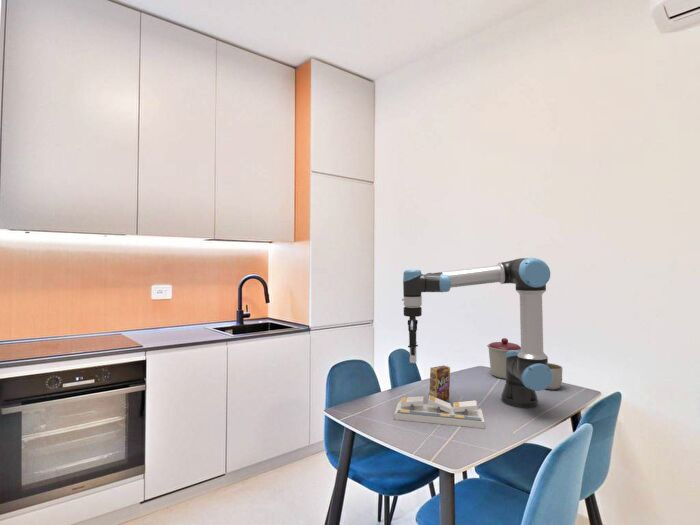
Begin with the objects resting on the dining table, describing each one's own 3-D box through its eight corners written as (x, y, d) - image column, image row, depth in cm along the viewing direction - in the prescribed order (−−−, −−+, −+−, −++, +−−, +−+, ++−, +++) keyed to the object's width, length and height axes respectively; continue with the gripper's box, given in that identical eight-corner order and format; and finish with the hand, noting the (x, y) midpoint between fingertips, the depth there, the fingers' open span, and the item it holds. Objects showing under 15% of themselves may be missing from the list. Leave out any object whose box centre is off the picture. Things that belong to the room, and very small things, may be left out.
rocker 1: (424, 400, 171) (423, 395, 171) (423, 406, 164) (422, 400, 165) (402, 401, 173) (402, 396, 173) (401, 407, 166) (400, 402, 167)
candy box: (435, 404, 181) (436, 369, 181) (428, 401, 184) (429, 367, 184) (450, 400, 186) (450, 366, 186) (442, 397, 189) (443, 364, 189)
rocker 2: (449, 407, 169) (450, 402, 169) (449, 413, 162) (451, 408, 162) (428, 399, 171) (429, 394, 171) (427, 404, 164) (429, 399, 164)
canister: (518, 383, 213) (518, 342, 213) (483, 377, 223) (483, 338, 223) (524, 375, 228) (525, 337, 228) (491, 370, 238) (492, 334, 238)
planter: (563, 386, 209) (563, 365, 209) (560, 393, 198) (561, 370, 198) (536, 382, 215) (536, 361, 215) (532, 388, 205) (533, 366, 205)
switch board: (481, 415, 168) (481, 405, 168) (484, 428, 155) (484, 418, 155) (398, 407, 176) (398, 398, 176) (394, 419, 163) (394, 409, 163)
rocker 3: (476, 404, 166) (475, 399, 167) (478, 411, 160) (477, 405, 160) (454, 406, 168) (453, 401, 169) (454, 413, 162) (453, 407, 162)
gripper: (404, 304, 180) (405, 358, 180) (402, 308, 167) (402, 366, 167) (422, 304, 178) (422, 359, 178) (420, 308, 165) (421, 366, 165)
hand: (413, 362), depth 173 cm, fingers closed
